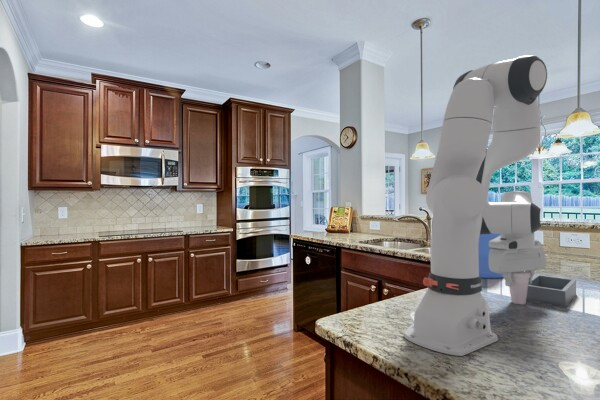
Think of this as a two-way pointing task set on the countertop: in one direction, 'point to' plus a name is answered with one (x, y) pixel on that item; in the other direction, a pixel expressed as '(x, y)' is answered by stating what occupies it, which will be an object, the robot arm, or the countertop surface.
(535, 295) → the crate
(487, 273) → the water jug
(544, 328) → the countertop surface
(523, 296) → the smoothie
